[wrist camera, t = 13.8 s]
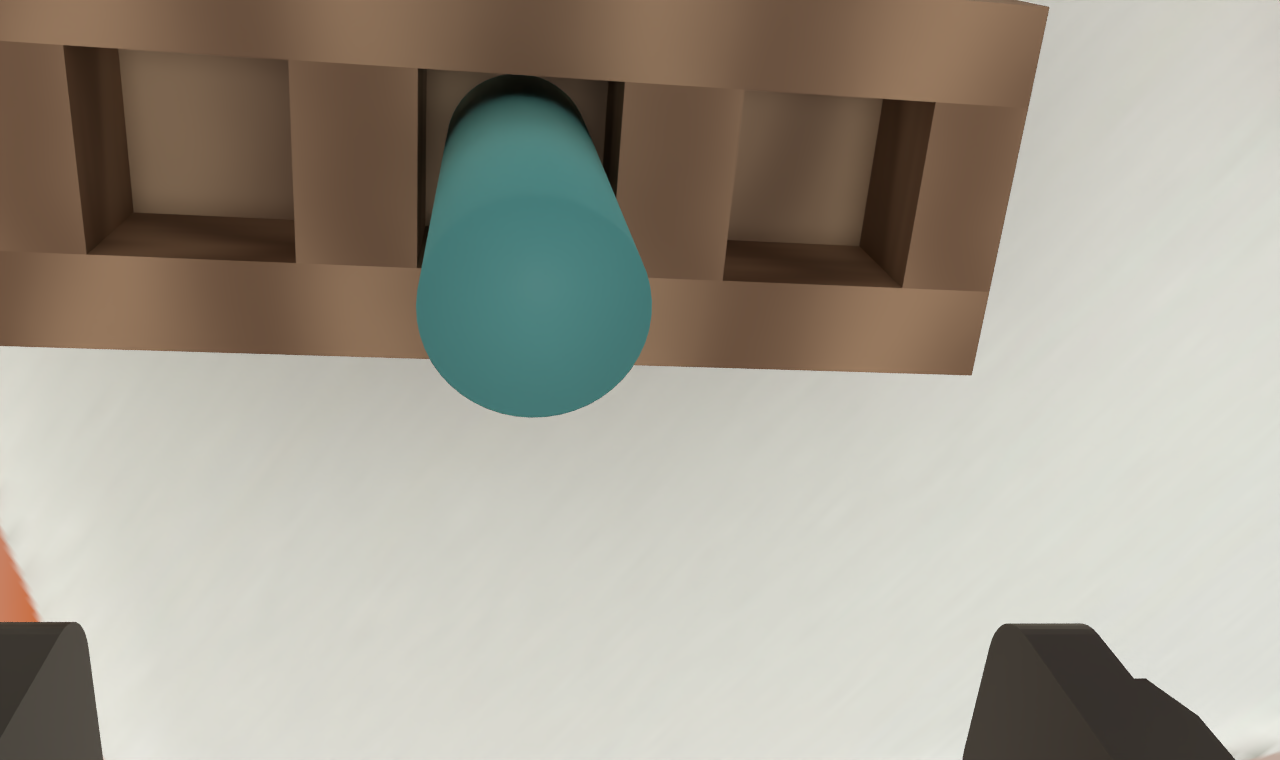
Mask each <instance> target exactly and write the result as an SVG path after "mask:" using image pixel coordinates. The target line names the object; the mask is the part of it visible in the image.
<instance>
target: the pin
mask: <svg viewBox="0 0 1280 760" xmlns="http://www.w3.org/2000/svg"><path fill="white" fill-rule="evenodd" d="M416 315H417V324H418V329H419V333H420V337H421V340H422V343H423V345H424V348H425V351H426V352H427V354H428V356H429V358H430V360H431V362H432V363H433V365H434V366H435V368H436V369H437V371H438V372H439V373H440V375H441V376H442V377H443V378H444V379H445V380H446V381H447V382H448V383H449V384H450V385H451V386H452V387H453V388H454V389H456V390H457V391H458V392H459V393H460V394H462V395H463V396H465V397H466V398H468V399H469V400H471V401H473V402H474V403H476V404H478V405H481V406H483V407H485V408H487V409H490V410H493V411H496V412H499V413H502V414H507V415H512V416H519V417H548V416H554V415H560V414H564V413H568V412H571V411H575V410H577V409H579V408H582V407H584V406H587V405H589V404H590V403H592V402H594V401H596V400H597V399H599V398H601V397H602V396H604V395H605V394H606V393H608V392H609V391H610V390H612V389H613V388H614V387H615V386H616V385H617V384H618V383H619V382H620V381H621V380H622V379H623V378H624V377H625V376H626V375H627V373H628V372H629V371H630V370H631V368H632V367H633V365H634V364H635V362H636V360H637V359H638V357H639V356H640V353H641V351H642V349H643V347H644V345H645V342H646V339H647V335H648V332H649V329H650V322H651V316H652V297H651V288H650V283H649V279H648V276H647V272H646V269H645V267H644V265H643V262H642V260H641V257H640V255H639V253H638V250H637V248H636V245H635V243H634V241H633V238H632V236H631V233H630V231H629V228H628V226H627V224H626V221H625V219H624V216H623V214H622V212H621V209H620V207H619V204H618V202H617V200H616V197H615V195H614V192H613V190H612V187H611V185H610V183H609V180H608V178H607V175H606V173H605V171H604V168H603V166H602V163H601V161H600V159H599V156H598V154H597V151H596V149H595V146H594V144H593V142H592V139H591V137H590V134H589V132H588V130H587V127H586V125H585V122H584V120H583V118H582V115H581V113H580V111H579V110H578V108H577V106H576V105H575V104H574V102H573V101H572V100H571V98H570V97H569V96H568V95H567V94H566V93H565V92H564V91H562V90H561V89H560V88H558V87H557V86H556V85H554V84H552V83H550V82H549V81H547V80H544V79H542V78H539V77H536V76H528V75H513V74H506V75H500V76H497V77H493V78H491V79H488V80H486V81H484V82H482V83H481V84H479V85H477V86H476V87H474V88H473V89H472V90H471V91H469V92H468V93H467V94H466V95H465V97H464V98H463V99H462V100H461V101H460V103H459V104H458V106H457V107H456V109H455V111H454V113H453V115H452V117H451V120H450V123H449V127H448V131H447V136H446V142H445V147H444V152H443V157H442V163H441V168H440V173H439V179H438V184H437V189H436V194H435V200H434V205H433V210H432V216H431V221H430V226H429V231H428V237H427V242H426V247H425V252H424V258H423V263H422V268H421V274H420V279H419V284H418V289H417V299H416Z"/></svg>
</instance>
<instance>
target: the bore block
mask: <svg viewBox="0 0 1280 760" xmlns="http://www.w3.org/2000/svg"><path fill="white" fill-rule="evenodd" d="M1048 11H1049V7H1047V6H1042V5H1037V4H1033V3H1028V2H1023V1H1018V0H0V346H21V347H54V348H87V349H120V350H153V351H186V352H219V353H252V354H285V355H318V356H351V357H384V358H417V359H430V358H429V356H428V354H427V352H426V351H425V348H424V345H423V343H422V340H421V337H420V333H419V329H418V324H417V315H416V299H417V289H418V284H419V279H420V274H421V268H422V263H423V258H424V252H425V247H426V242H427V237H428V231H429V226H430V221H431V216H432V210H433V205H434V200H435V194H436V189H437V184H438V179H439V173H440V168H441V163H442V157H443V152H444V147H445V142H446V136H447V131H448V127H449V123H450V120H451V117H452V115H453V113H454V111H455V109H456V107H457V106H458V104H459V103H460V101H461V100H462V99H463V98H464V97H465V95H466V94H467V93H468V92H469V91H471V90H472V89H473V88H474V87H476V86H477V85H479V84H481V83H482V82H484V81H486V80H488V79H491V78H493V77H497V76H500V75H506V74H513V75H528V76H536V77H539V78H542V79H544V80H547V81H549V82H550V83H552V84H554V85H556V86H557V87H558V88H560V89H561V90H562V91H564V92H565V93H566V94H567V95H568V96H569V97H570V98H571V100H572V101H573V102H574V104H575V105H576V106H577V108H578V110H579V111H580V113H581V115H582V118H583V120H584V122H585V125H586V127H587V130H588V132H589V134H590V137H591V139H592V142H593V144H594V146H595V149H596V151H597V154H598V156H599V159H600V161H601V163H602V166H603V168H604V171H605V173H606V175H607V178H608V180H609V183H610V185H611V187H612V190H613V192H614V195H615V197H616V200H617V202H618V204H619V207H620V209H621V212H622V214H623V216H624V219H625V221H626V224H627V226H628V228H629V231H630V233H631V236H632V238H633V241H634V243H635V245H636V248H637V250H638V253H639V255H640V257H641V260H642V262H643V265H644V267H645V269H646V272H647V276H648V279H649V283H650V288H651V297H652V316H651V322H650V329H649V332H648V335H647V339H646V342H645V345H644V347H643V349H642V351H641V353H640V356H639V357H638V359H637V360H636V362H635V364H634V365H648V366H681V367H714V368H747V369H780V370H813V371H846V372H879V373H912V374H945V375H972V371H973V366H974V362H975V357H976V352H977V347H978V343H979V338H980V333H981V328H982V324H983V319H984V314H985V309H986V305H987V300H988V295H989V291H990V286H991V281H992V276H993V272H994V267H995V262H996V257H997V253H998V248H999V243H1000V239H1001V234H1002V229H1003V224H1004V220H1005V215H1006V210H1007V205H1008V201H1009V196H1010V191H1011V186H1012V182H1013V177H1014V172H1015V168H1016V163H1017V158H1018V153H1019V149H1020V144H1021V139H1022V134H1023V130H1024V125H1025V120H1026V116H1027V111H1028V106H1029V101H1030V97H1031V92H1032V87H1033V82H1034V78H1035V73H1036V68H1037V63H1038V59H1039V54H1040V49H1041V45H1042V40H1043V35H1044V30H1045V26H1046V21H1047V16H1048Z"/></svg>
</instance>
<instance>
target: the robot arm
mask: <svg viewBox="0 0 1280 760" xmlns="http://www.w3.org/2000/svg"><path fill="white" fill-rule="evenodd" d="M0 760H103V755H102V748H101V740H100V732H99V725H98V717H97V710H96V702H95V694H94V687H93V679H92V672H91V664H90V656H89V649H88V643H87V638H86V635H85V632H84V630H83V628H82V627H81V625H80V624H78V623H76V622H0ZM963 760H1235V759H1234V758H1233V756H1232V755H1231V754H1230V753H1229V752H1228V751H1227V749H1226V748H1225V747H1224V746H1223V745H1222V743H1221V742H1220V741H1219V740H1218V739H1217V738H1216V736H1215V735H1214V734H1213V733H1212V732H1211V730H1210V729H1209V728H1208V727H1207V726H1206V725H1205V723H1204V722H1203V721H1202V720H1201V719H1200V717H1199V716H1198V715H1196V714H1195V713H1193V712H1192V711H1190V710H1189V709H1188V708H1186V707H1185V706H1183V705H1182V704H1181V703H1179V702H1178V701H1176V700H1175V699H1174V698H1172V697H1171V696H1169V695H1168V694H1167V693H1165V692H1164V691H1162V690H1161V689H1160V688H1158V687H1157V686H1155V685H1154V684H1153V683H1151V682H1150V681H1148V680H1147V679H1134V678H1133V677H1132V676H1131V675H1130V673H1129V672H1128V671H1127V670H1126V668H1125V667H1124V666H1123V665H1122V663H1121V662H1120V661H1119V660H1118V658H1117V657H1116V656H1115V655H1114V653H1113V652H1112V651H1111V650H1110V648H1109V647H1108V646H1107V645H1106V643H1105V642H1104V641H1103V640H1102V639H1101V637H1100V636H1099V635H1098V634H1097V633H1096V632H1095V631H1094V629H1092V628H1091V627H1089V626H1088V625H1085V624H1004V625H1002V626H1001V627H999V628H998V630H997V631H996V632H995V634H994V636H993V638H992V641H991V644H990V648H989V652H988V656H987V660H986V664H985V668H984V672H983V676H982V680H981V684H980V688H979V692H978V696H977V700H976V704H975V708H974V712H973V716H972V720H971V725H970V729H969V733H968V737H967V741H966V745H965V749H964V754H963Z"/></svg>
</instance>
